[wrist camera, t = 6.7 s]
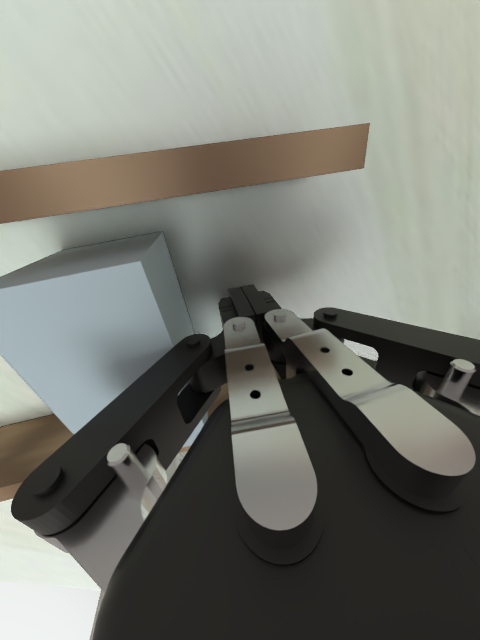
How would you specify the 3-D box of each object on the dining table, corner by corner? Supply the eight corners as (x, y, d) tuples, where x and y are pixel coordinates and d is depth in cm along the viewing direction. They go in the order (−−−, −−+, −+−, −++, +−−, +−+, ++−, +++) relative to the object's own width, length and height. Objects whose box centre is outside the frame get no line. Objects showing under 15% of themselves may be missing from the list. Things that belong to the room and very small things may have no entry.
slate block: (162, 231, 11) (140, 261, 6) (203, 361, 16) (209, 440, 11) (61, 250, 11) (-51, 299, 6) (133, 378, 16) (105, 469, 10)
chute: (306, 148, 11) (423, 101, 5) (302, 365, 18) (350, 438, 13) (-288, 230, 8) (-1170, 296, 3) (-16, 443, 16) (-124, 575, 10)
